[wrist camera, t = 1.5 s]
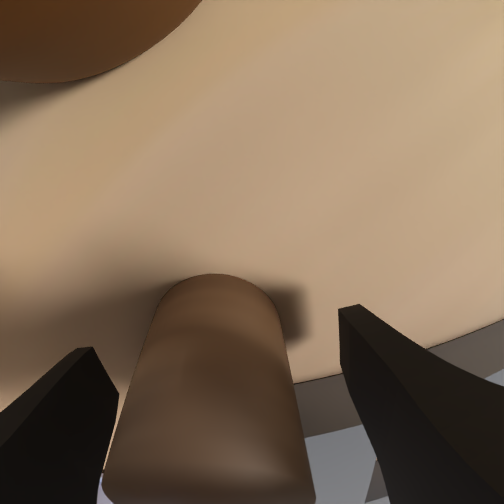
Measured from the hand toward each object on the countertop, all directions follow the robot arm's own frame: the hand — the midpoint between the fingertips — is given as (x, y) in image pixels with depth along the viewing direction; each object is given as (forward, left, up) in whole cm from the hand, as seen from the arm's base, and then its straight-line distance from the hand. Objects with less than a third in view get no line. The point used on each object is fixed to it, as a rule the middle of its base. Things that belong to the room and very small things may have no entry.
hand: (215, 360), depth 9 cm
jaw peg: (0, 0, -2) cm, 2 cm away
